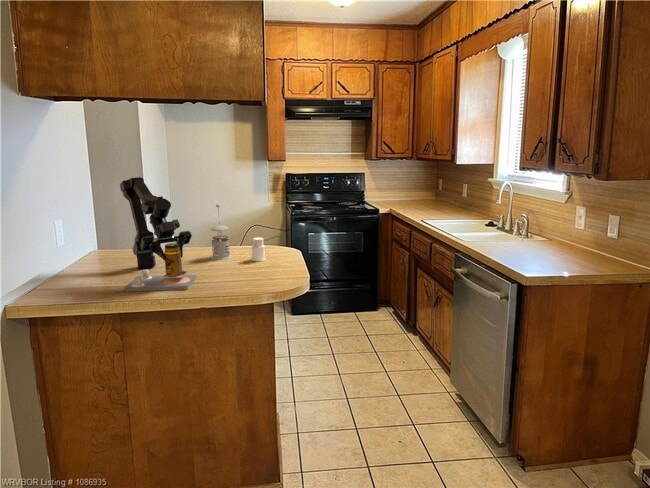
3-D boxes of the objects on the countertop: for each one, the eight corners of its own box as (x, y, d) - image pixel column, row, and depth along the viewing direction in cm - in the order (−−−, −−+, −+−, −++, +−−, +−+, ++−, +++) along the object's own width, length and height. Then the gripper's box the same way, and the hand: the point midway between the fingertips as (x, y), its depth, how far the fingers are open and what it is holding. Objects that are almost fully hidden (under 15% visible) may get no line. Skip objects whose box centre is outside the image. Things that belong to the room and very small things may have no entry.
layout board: (124, 291, 175) (123, 279, 174) (137, 279, 189) (136, 268, 188) (187, 289, 176) (186, 277, 175) (195, 278, 190) (195, 267, 189)
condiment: (161, 277, 179) (159, 246, 177) (170, 271, 188) (168, 241, 185) (180, 277, 179) (178, 246, 176) (188, 271, 187) (186, 241, 185)
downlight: (250, 262, 213) (250, 240, 211) (248, 258, 220) (248, 237, 217) (268, 261, 215) (268, 239, 213) (265, 257, 222) (265, 236, 220)
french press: (210, 260, 217) (206, 206, 211) (210, 254, 228) (206, 202, 222) (232, 259, 219) (229, 205, 213) (231, 253, 230) (228, 201, 224)
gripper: (139, 216, 175) (153, 250, 169) (188, 210, 186) (202, 242, 180) (134, 233, 183) (147, 267, 177) (181, 227, 194) (195, 258, 188)
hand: (173, 258), depth 180 cm, fingers closed on condiment, 6 cm apart
